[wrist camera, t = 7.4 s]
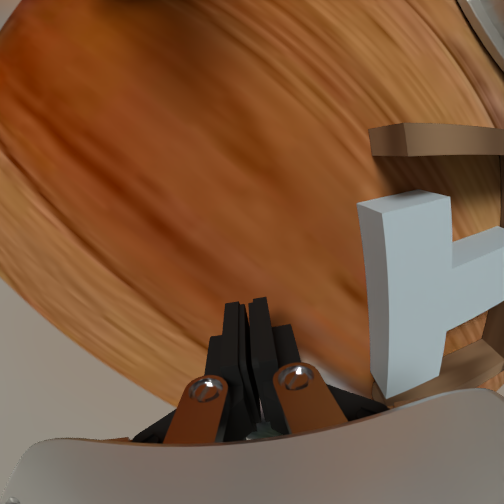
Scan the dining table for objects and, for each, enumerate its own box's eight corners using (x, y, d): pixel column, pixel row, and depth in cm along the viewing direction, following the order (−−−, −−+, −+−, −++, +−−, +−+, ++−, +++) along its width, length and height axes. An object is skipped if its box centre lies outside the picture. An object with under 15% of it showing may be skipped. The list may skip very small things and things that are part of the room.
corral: (371, 395, 16) (388, 427, 13) (368, 129, 11) (403, 122, 8) (487, 345, 16) (509, 366, 13) (507, 134, 11) (541, 135, 8)
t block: (370, 371, 15) (386, 399, 13) (356, 203, 12) (381, 213, 10) (488, 317, 15) (509, 334, 13) (495, 173, 12) (525, 179, 10)
